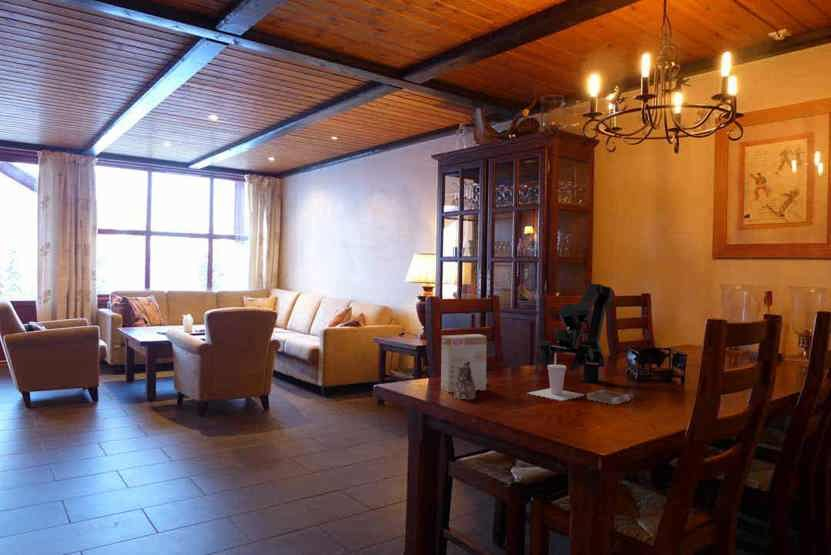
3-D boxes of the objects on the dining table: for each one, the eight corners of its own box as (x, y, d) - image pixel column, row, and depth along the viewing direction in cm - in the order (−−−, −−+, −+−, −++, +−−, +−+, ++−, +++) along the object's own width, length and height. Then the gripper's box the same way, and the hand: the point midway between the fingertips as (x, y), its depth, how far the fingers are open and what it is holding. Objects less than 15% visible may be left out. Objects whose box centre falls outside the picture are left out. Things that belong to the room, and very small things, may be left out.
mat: (550, 389, 215) (550, 388, 215) (584, 395, 205) (584, 394, 205) (527, 394, 206) (527, 393, 206) (561, 401, 195) (561, 400, 195)
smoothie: (549, 391, 209) (549, 351, 209) (567, 393, 207) (568, 353, 206) (545, 394, 203) (545, 353, 203) (563, 396, 201) (564, 355, 201)
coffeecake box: (477, 386, 217) (478, 333, 217) (486, 390, 211) (487, 335, 210) (440, 389, 212) (441, 334, 212) (448, 393, 206) (448, 337, 205)
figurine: (449, 397, 199) (450, 361, 198) (462, 394, 204) (463, 359, 204) (466, 400, 194) (467, 364, 194) (479, 397, 199) (480, 362, 199)
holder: (602, 395, 205) (602, 389, 205) (629, 400, 198) (630, 394, 198) (587, 399, 198) (587, 393, 198) (614, 405, 191) (614, 398, 191)
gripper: (541, 319, 216) (526, 352, 207) (590, 322, 204) (577, 358, 196) (550, 338, 222) (536, 371, 214) (598, 342, 211) (586, 378, 202)
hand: (558, 369), depth 206 cm, fingers open, 9 cm apart
